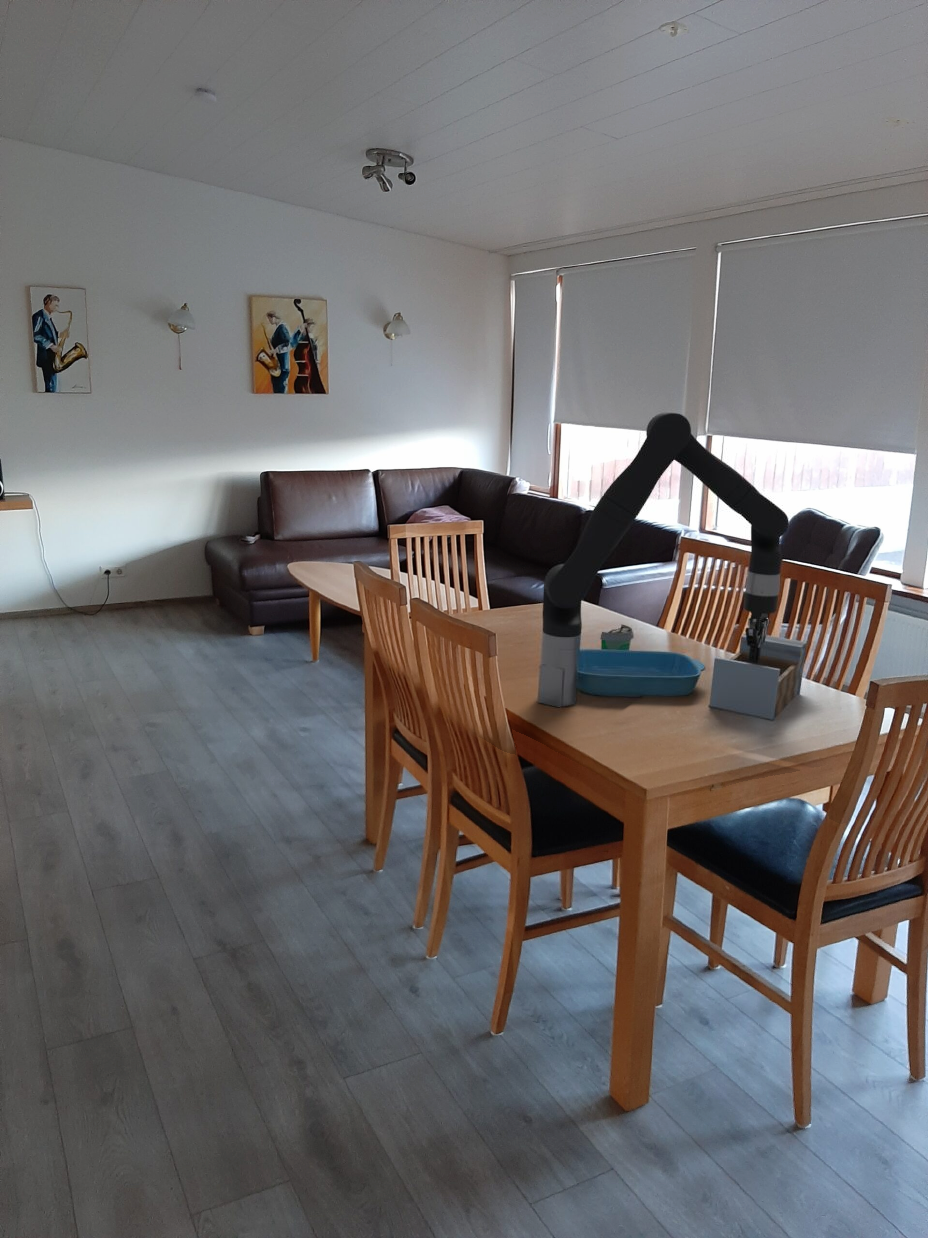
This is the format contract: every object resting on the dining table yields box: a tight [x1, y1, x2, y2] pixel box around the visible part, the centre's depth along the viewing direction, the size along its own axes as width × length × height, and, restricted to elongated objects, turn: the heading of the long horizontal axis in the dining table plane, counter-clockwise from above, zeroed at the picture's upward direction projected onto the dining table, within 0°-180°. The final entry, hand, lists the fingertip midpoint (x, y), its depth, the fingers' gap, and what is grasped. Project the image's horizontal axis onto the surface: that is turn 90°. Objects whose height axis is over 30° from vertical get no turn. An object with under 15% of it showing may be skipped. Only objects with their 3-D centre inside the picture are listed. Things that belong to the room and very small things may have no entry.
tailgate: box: [707, 656, 780, 722], centre depth 222 cm, size 1×16×13 cm, turn 58°
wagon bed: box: [729, 633, 808, 719], centre depth 233 cm, size 26×15×14 cm, turn 148°
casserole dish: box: [577, 648, 706, 698], centre depth 242 cm, size 37×22×7 cm, turn 91°
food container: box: [599, 624, 635, 650], centre depth 260 cm, size 12×6×10 cm, turn 143°
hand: (753, 661), depth 226 cm, fingers closed
